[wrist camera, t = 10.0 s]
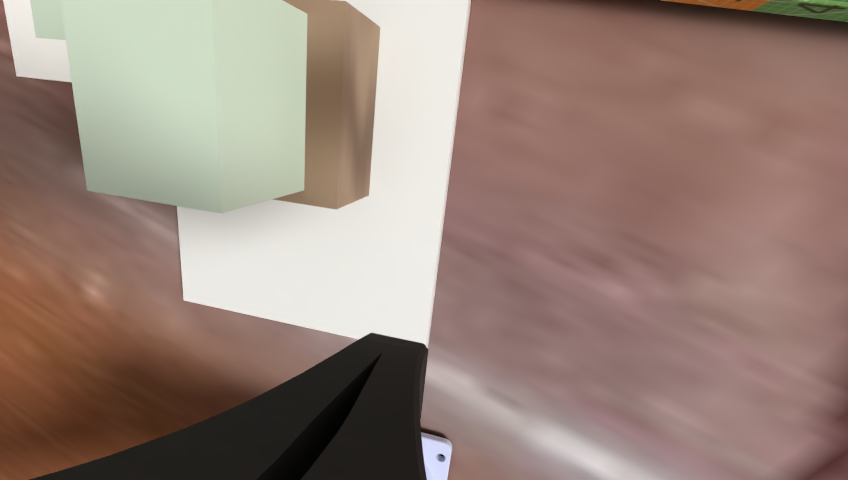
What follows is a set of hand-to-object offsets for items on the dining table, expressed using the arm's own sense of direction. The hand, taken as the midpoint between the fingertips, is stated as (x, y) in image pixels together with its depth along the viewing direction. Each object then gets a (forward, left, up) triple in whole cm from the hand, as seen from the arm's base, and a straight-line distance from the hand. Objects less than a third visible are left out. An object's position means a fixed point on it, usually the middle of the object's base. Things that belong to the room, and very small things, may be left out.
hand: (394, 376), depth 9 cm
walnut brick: (+5, +8, -10) cm, 14 cm away
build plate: (+3, +8, -10) cm, 13 cm away
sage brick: (+5, +8, -6) cm, 12 cm away
